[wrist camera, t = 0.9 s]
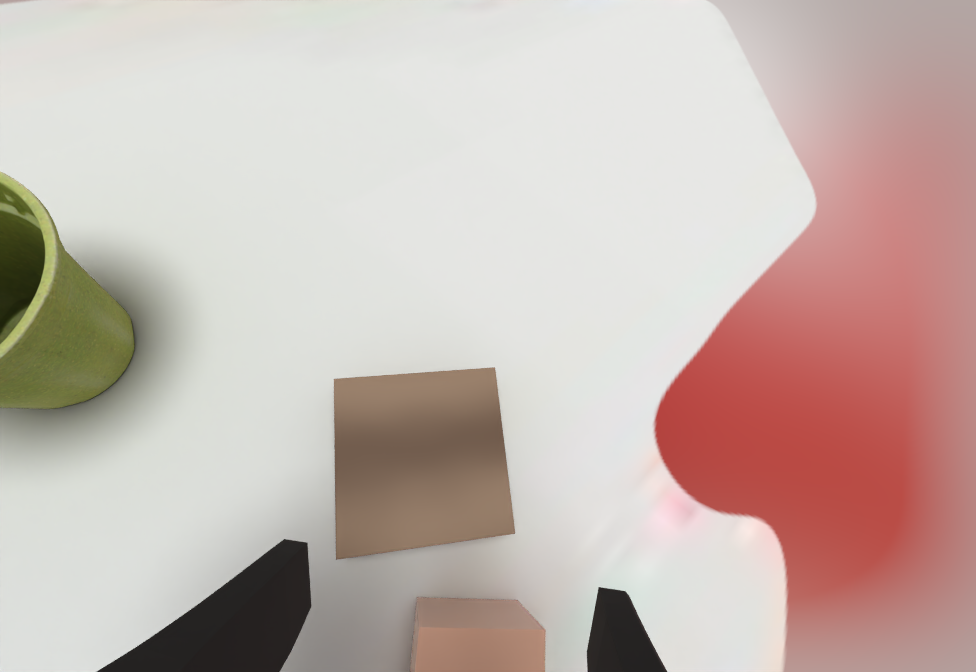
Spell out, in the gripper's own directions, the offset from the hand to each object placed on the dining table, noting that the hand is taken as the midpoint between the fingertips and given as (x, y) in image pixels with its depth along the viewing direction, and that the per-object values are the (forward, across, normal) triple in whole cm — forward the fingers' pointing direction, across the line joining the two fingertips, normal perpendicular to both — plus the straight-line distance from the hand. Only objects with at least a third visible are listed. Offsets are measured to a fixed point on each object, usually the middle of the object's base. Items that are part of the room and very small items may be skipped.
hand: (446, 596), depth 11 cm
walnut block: (+12, +4, +4) cm, 14 cm away
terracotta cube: (+7, 0, +12) cm, 14 cm away
